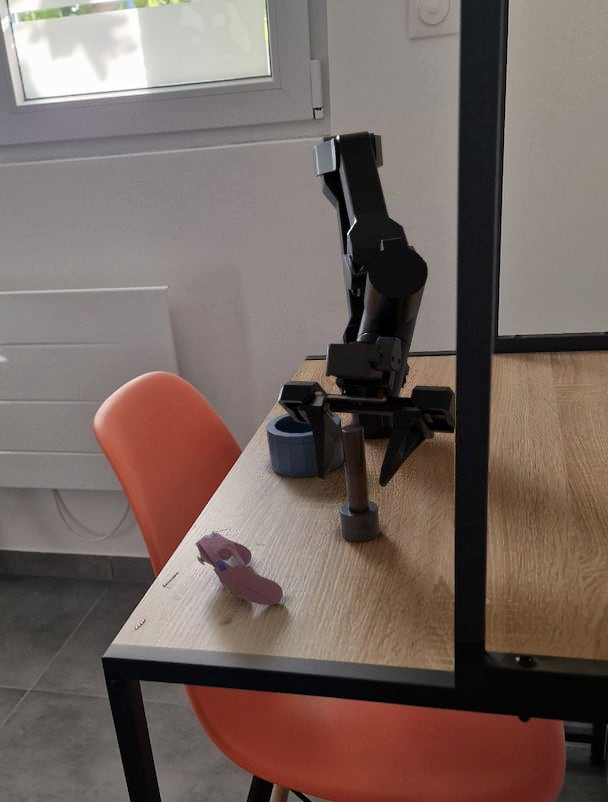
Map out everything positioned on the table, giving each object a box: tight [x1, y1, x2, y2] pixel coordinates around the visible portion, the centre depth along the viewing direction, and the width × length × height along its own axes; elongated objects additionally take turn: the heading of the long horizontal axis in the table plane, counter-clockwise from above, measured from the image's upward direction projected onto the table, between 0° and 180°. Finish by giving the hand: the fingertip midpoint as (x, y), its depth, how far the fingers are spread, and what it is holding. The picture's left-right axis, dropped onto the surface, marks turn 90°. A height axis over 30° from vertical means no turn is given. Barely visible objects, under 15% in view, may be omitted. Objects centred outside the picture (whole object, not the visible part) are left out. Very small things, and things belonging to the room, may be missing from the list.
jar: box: [265, 412, 344, 478], centre depth 106 cm, size 9×9×6 cm
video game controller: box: [195, 530, 284, 606], centre depth 79 cm, size 10×5×7 cm, turn 21°
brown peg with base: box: [339, 424, 381, 543], centre depth 85 cm, size 4×4×12 cm
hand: (350, 482), depth 84 cm, fingers open, 6 cm apart
